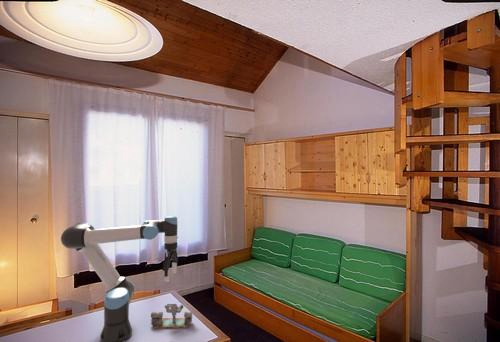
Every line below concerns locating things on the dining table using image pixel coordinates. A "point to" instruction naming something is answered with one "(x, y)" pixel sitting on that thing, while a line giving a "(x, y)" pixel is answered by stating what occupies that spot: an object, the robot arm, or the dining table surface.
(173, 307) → the mechanical component
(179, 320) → the mint panel frame
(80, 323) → the dining table surface
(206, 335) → the dining table surface
